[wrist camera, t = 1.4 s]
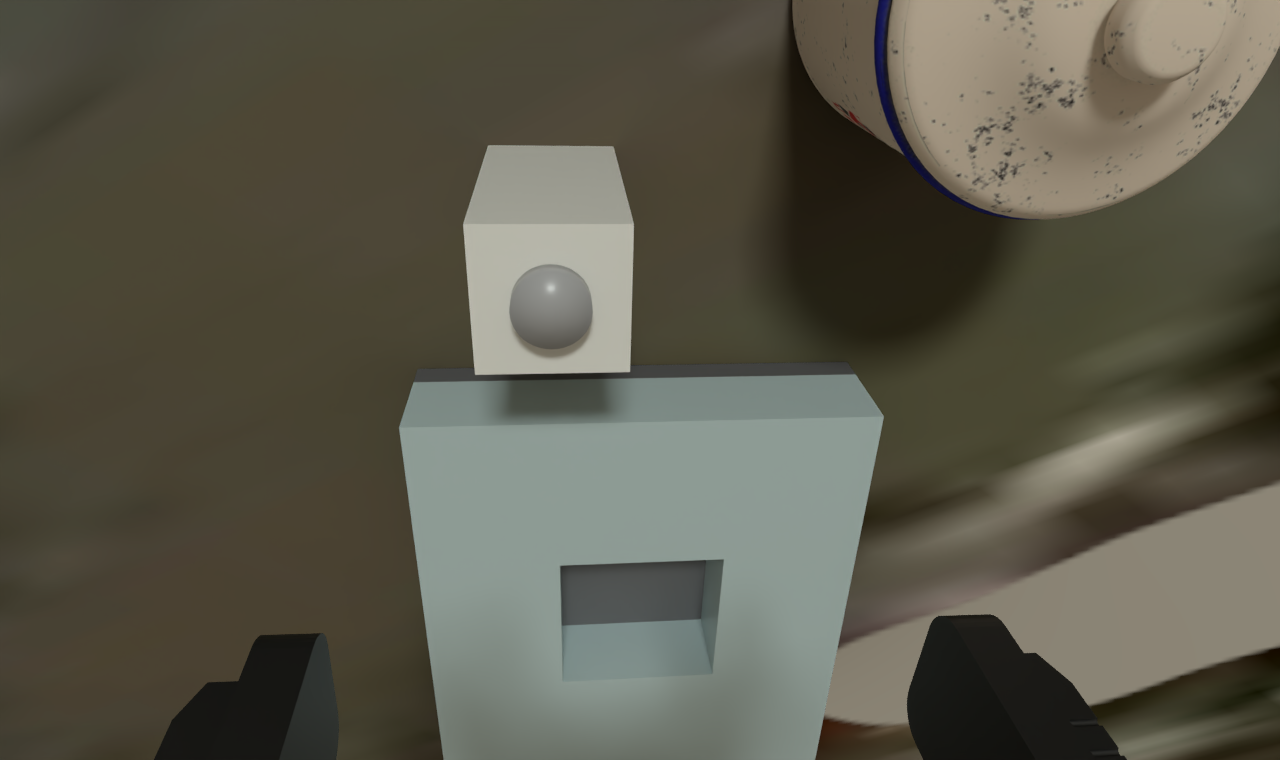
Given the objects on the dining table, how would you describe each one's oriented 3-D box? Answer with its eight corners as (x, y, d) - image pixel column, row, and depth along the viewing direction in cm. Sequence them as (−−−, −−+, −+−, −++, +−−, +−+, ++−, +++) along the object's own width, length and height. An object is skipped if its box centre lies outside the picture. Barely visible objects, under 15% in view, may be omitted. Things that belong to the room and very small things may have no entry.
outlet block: (846, 361, 31) (883, 416, 28) (791, 690, 40) (814, 763, 36) (417, 368, 30) (399, 427, 26) (457, 708, 38) (447, 786, 35)
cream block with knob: (613, 146, 26) (636, 231, 19) (612, 263, 28) (632, 383, 21) (488, 145, 26) (460, 232, 19) (495, 263, 28) (472, 385, 20)
